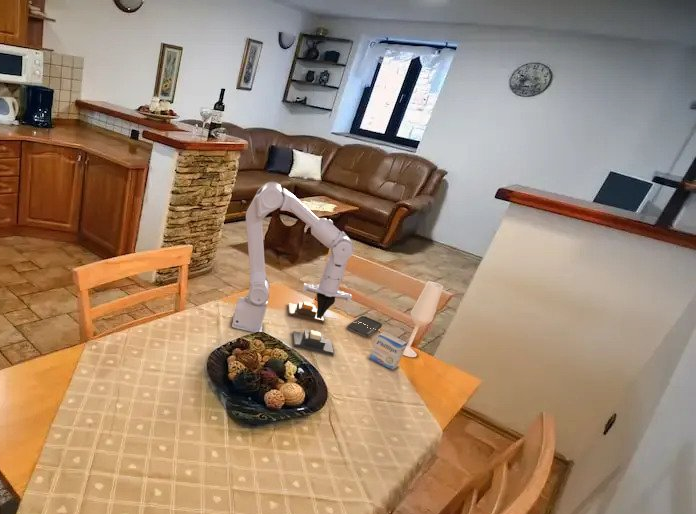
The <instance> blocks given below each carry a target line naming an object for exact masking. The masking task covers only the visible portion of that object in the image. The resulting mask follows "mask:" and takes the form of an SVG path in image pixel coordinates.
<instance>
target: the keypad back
mask: <svg viewBox="0 0 696 514" xmlns="http://www.w3.org/2000/svg"><path fill="white" fill-rule="evenodd" d="M317 309H318V308H317V307H316V305H315V304H313V309H312V310H310V309H305V308H303V302H301V301H298V302H297V304H295V303H291V302H288V304H287V311H288V316H289V317H293V318H297V319H302V320H306V321H310V322H314V323H318V324H324V322H325V319H324V315H323V316H322V318H321V319H320V318H317Z"/></svg>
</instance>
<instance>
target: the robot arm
mask: <svg viewBox="0 0 696 514" xmlns="http://www.w3.org/2000/svg"><path fill="white" fill-rule="evenodd" d="M277 209H279V210H280V211H285V212H287V211H289V212H291V213H292V214H294V215H295V216H296V217H297V218H298V219H300V220H301V221H302V222H304V223H305V224H306V225H308V227H310V234H311V235H312V236H313V237H314V238H315V239H317V240H318V241H319V242H320V243H321V244H322V245H323V246H325V247H326V248H327V249H330V252H329V254H328V258H327V259H326V263H325V266H324V269H323V272H322V275H321V278H320V281H319V284H311V283H305V282H304V283H303V285H302V292H304V293H306V292H308V293H313V294H316V300H317V301H316V302H317V308H316V309H317V318H320V319H321V318H322V316H323V317H324V315H325V313H326V312H327V311H328V309H329V308H330V307H332V306H333V305H334V304H335V303H336V299H338V300H342V301H346V302H347V303H351V301H352V298H353V295H352V293H349V292H347V291H346V292H345V291H344V290H343V291H342V290H340V286H341V284H342V280H343V277H344V275H345V271H346V268H347V265H348V261H349V259H350V258H351V257H352V256H353V255H354V253H355V252H354V250H355V249H354V245H353V242H352V240H351V238H350V237H349V235H347V233H346V232H344V230H342V231H341V230H339V228H337V226H335V225H334V222H333V220H331V218H329V219H327V218H326V217H322V218H321V217H318V216H316V215H315V214H314V213H313V212H312V211H311V210H310V209H309V208H308V207H307V205H305V204H304V203H303V202H302V201H301V200H300V199H299V198H297V197H296V195H294V194H293V193H292V192H290V191H289V190H288V189H286V188H285V187H282V186H281V184H279V183H278V182H276V181H268V182H266V183H265V184H263V185H262V186H261V187H260V188H259V189H258V190H257V191H256V194H255V195H254V197H253V199H252V201H251V203H250V204H249V206H248V208H247V210H246V212H245V225H246V237H247V250H248V251H247V252H248V263H249V264H248V265H249V288H248V292H247V294H246V295H245V296H238V297H237V302H236V307H235V310H234V313H233V314H232V324H231V328H233V329H234V328H235V329H237V330H241V331H247V332H250V333H251V332H252V333H255V334H257V333H256V332H262V333H263V323H264V322H263V321H264V318H265V315H266V311H267V308H268V303H269V299H270V281H269V280H268V279H267V278H268V277H267V275H266V274H267V272H266V263H265V262H266V260H265V246H264V232H263V231H264V229H263V219H265V218H266V217H267V215H269V213H272V212H273V211H276V210H277Z"/></svg>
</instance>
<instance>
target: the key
mask: <svg viewBox="0 0 696 514" xmlns="http://www.w3.org/2000/svg"><path fill="white" fill-rule="evenodd" d="M309 331H310V333H309V336H310V338H312V339H316V340H321V334H322V332H321V331H317V330H313V329H310V330H309Z"/></svg>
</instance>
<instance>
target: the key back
mask: <svg viewBox="0 0 696 514" xmlns="http://www.w3.org/2000/svg"><path fill="white" fill-rule="evenodd" d="M302 303H303V308H305V309H310V310H312V309H313V305H314V303H313V302H310V301H304V300H303V302H302Z"/></svg>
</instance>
